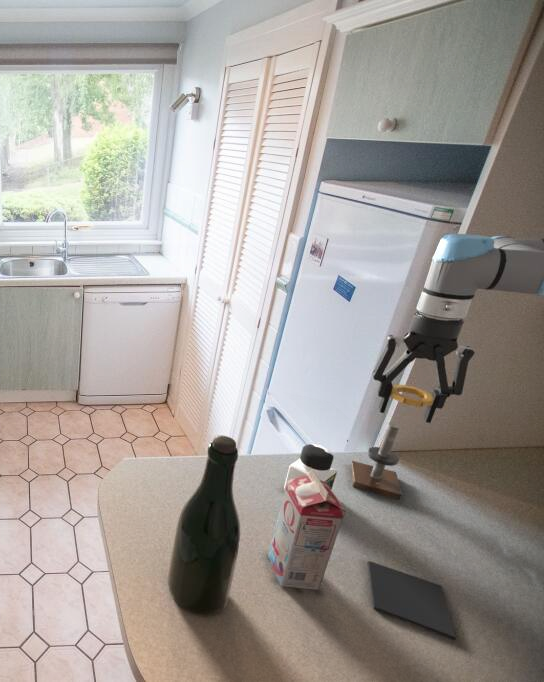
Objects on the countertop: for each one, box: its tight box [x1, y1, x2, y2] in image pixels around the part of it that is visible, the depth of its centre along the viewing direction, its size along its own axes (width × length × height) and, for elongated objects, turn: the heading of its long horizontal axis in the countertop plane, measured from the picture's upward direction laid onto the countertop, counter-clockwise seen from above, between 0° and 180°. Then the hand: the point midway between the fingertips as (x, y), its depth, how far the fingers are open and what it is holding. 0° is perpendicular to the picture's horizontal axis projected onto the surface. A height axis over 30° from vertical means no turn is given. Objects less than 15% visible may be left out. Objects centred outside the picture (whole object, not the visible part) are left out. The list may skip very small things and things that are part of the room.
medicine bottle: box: [283, 443, 338, 490], centre depth 103 cm, size 7×7×12 cm
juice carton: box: [267, 467, 346, 591], centre depth 81 cm, size 7×7×22 cm
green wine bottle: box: [167, 435, 241, 617], centre depth 76 cm, size 10×10×33 cm
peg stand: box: [350, 422, 403, 501], centre depth 105 cm, size 9×9×16 cm
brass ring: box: [390, 384, 434, 408], centre depth 96 cm, size 7×7×1 cm
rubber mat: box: [367, 560, 457, 640], centre depth 80 cm, size 11×11×1 cm
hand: (403, 414), depth 98 cm, fingers closed on brass ring, 7 cm apart
